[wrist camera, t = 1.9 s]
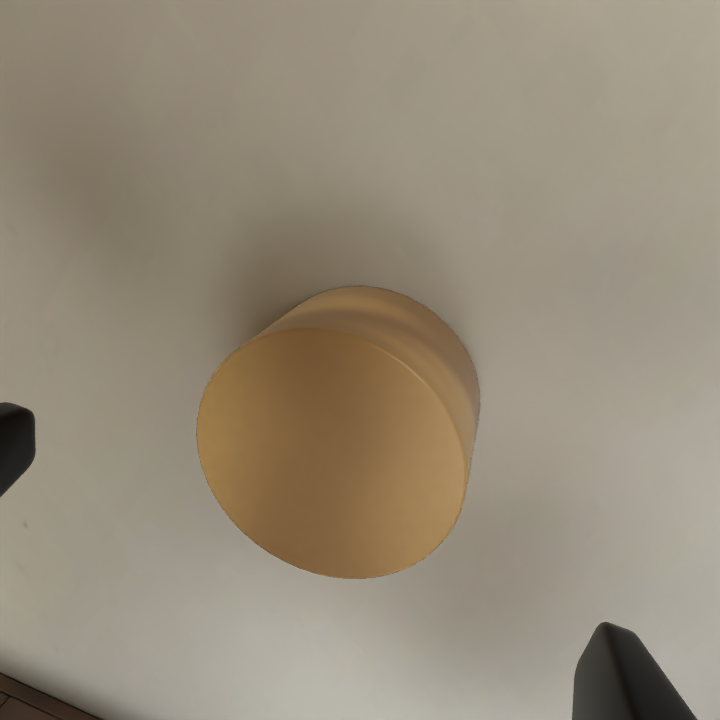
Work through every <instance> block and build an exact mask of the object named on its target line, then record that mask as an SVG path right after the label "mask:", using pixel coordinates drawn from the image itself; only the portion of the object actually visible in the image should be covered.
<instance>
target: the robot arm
mask: <svg viewBox="0 0 720 720" xmlns="http://www.w3.org/2000/svg"><path fill="white" fill-rule="evenodd" d="M35 452H36V448H35V418H34V415H33V413H32V412H31V411H30V410H29V409H27V408H24V407H21V406H19V405H16V404H13V403H8V402H4V403H0V497H1V496H2V495H3V494H4V493H5V492H6V491H7V490H8V489H9V488H10V487H11V486H12V485H13V484H14V483H15V481H16V480H17V479H18V478H19V477H20V476H21V475H22V474H23V473H24V472H25V471H26V470H27V469H28V468H29V467H30V465H31V464H32V462H33V460H34V457H35ZM572 720H697V718H696V717H695V716H694V714H693V713H692V711H691V710H690V709H689V707H688V706H687V704H686V703H685V702H684V700H683V699H682V697H681V696H680V695H679V693H678V692H677V691H676V689H675V688H674V686H673V685H672V684H671V682H670V681H669V679H668V678H667V677H666V675H665V674H664V672H663V671H662V670H661V668H660V667H659V665H658V664H657V663H656V661H655V660H654V659H653V657H652V656H651V654H650V653H649V652H648V650H647V649H646V647H645V646H644V645H643V643H642V642H641V640H640V639H639V638H638V637H637V635H636V634H635V633H634V632H632V631H630V630H628V629H625V628H622V627H619V626H617V625H614V624H611V623H609V622H603V623H601V624H600V625H599V626H598V627H597V628H596V630H595V632H594V633H593V635H592V637H591V639H590V641H589V643H588V645H587V646H586V648H585V650H584V652H583V654H582V656H581V657H580V659H579V661H578V664H577V667H576V671H575V677H574V694H573V713H572Z"/></svg>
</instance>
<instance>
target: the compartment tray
mask: <svg viewBox="0 0 720 720" xmlns="http://www.w3.org/2000/svg"><path fill="white" fill-rule="evenodd" d="M0 720H99V719H97V718H94V717H92V716H90V715H88V714H86V713H84V712H81V711H79V710H77V709H75V708H73V707H71V706H68V705H66V704H64V703H62V702H60V701H58V700H55V699H53V698H51V697H49V696H47V695H45V694H42V693H40V692H38V691H36V690H34V689H32V688H29V687H27V686H25V685H23V684H21V683H19V682H16V681H14V680H12V679H10V678H8V677H6V676H3V675H1V674H0Z"/></svg>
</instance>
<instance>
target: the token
mask: <svg viewBox="0 0 720 720" xmlns="http://www.w3.org/2000/svg"><path fill="white" fill-rule="evenodd" d="M479 411H480V390H479V385H478V379H477V375H476V372H475V369H474V366H473V363H472V361H471V359H470V357H469V355H468V352H467V350H466V348H465V347H464V345H463V344H462V342H461V341H460V339H459V338H458V336H457V335H456V334H455V333H454V332H453V330H452V329H451V328H450V327H449V326H448V325H447V324H446V323H445V322H444V321H443V320H442V319H441V318H440V317H439V316H437V315H436V314H435V313H434V312H432V311H431V310H429V309H428V308H427V307H425V306H424V305H422V304H421V303H419V302H417V301H415V300H413V299H411V298H409V297H407V296H404V295H401V294H399V293H396V292H393V291H390V290H385V289H381V288H376V287H365V286H354V287H342V288H337V289H332V290H329V291H325V292H322V293H319V294H317V295H315V296H313V297H311V298H309V299H307V300H305V301H304V302H302V303H301V304H299V305H298V306H297V307H295V308H294V309H292V310H291V311H290V312H288V313H287V314H285V315H284V316H283V317H281V318H280V319H278V320H277V321H276V322H274V323H273V324H272V325H270V326H269V327H267V328H266V329H265V330H263V331H262V332H260V333H259V334H258V335H256V336H255V337H253V338H252V339H251V340H249V341H248V342H247V343H245V344H244V345H242V346H241V347H240V348H238V349H237V350H235V351H234V352H233V353H232V354H231V355H230V356H229V357H228V358H226V359H225V360H224V361H223V362H222V363H221V365H220V366H219V367H218V369H217V370H216V371H215V373H214V374H213V375H212V377H211V379H210V381H209V383H208V385H207V386H206V388H205V391H204V394H203V397H202V400H201V402H200V406H199V412H198V417H197V433H196V435H197V446H198V453H199V457H200V462H201V466H202V469H203V472H204V474H205V477H206V480H207V482H208V484H209V486H210V488H211V490H212V492H213V494H214V496H215V498H216V499H217V501H218V502H219V504H220V506H221V507H222V509H223V510H224V511H225V512H226V514H227V515H228V516H229V518H230V519H231V520H232V521H233V522H234V523H235V524H236V526H237V527H238V528H239V529H240V530H241V531H242V532H243V533H244V534H245V535H247V536H248V537H249V538H250V539H251V540H252V541H254V542H255V543H256V544H257V545H259V546H260V547H262V548H263V549H264V550H266V551H267V552H269V553H270V554H272V555H274V556H276V557H277V558H279V559H281V560H283V561H284V562H287V563H289V564H291V565H293V566H296V567H298V568H300V569H303V570H306V571H309V572H313V573H316V574H320V575H325V576H329V577H337V578H346V579H365V578H373V577H380V576H384V575H388V574H392V573H396V572H398V571H401V570H403V569H406V568H408V567H410V566H412V565H414V564H415V563H417V562H419V561H421V560H422V559H424V558H425V557H426V556H427V555H429V554H430V553H431V552H433V551H434V550H435V549H436V548H437V547H438V546H439V545H440V544H441V543H442V542H443V541H444V539H445V538H446V537H447V536H448V534H449V533H450V531H451V530H452V528H453V527H454V525H455V523H456V521H457V519H458V516H459V514H460V512H461V509H462V506H463V502H464V498H465V495H466V489H467V483H468V477H469V472H470V466H471V460H472V454H473V449H474V443H475V437H476V431H477V426H478V420H479Z"/></svg>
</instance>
